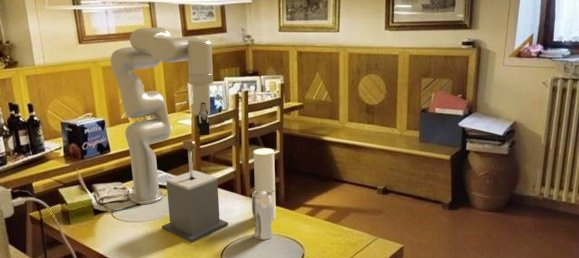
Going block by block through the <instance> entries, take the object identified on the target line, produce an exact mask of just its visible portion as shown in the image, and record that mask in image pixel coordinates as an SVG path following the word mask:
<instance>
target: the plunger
mask: <svg viewBox="0 0 579 258" xmlns="http://www.w3.org/2000/svg"><path fill="white" fill-rule="evenodd" d="M182 148H183V149H184V150H187V157H188V168H189V170H188V172H190V180H194V177H193V171H194V168H193V167H194V164H193V152H192V149H196V140H194V139H186V140H183V141H182Z"/></svg>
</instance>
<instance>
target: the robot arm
mask: <svg viewBox="0 0 579 258" xmlns="http://www.w3.org/2000/svg"><path fill="white" fill-rule="evenodd" d="M129 43H130V45H131V46H130V47H122V48H118V49H116V50H114V51H113V52H112V54H111V56H110V68H111V71H112V72H113V75H114V78H115V79H116V81H117V84H118V87H119V93H120V96H121V101H122V106H123V111H124V113H125V116H127V118H129V119H139V118H145V117H150V116H151V118H152V119H151V118H150V119H145V120H141V121H136V122H132V123H131V124H129V125H128V126H127V127H126V128H125V131H124V132H125V139H126V142H127V146H128V149H129V157H130V165H131V174H132V182H133V186H131V188H130V189H131V190H132V191H133V194H132V195H131V196H130V201H131V200H132V201H133V202H135V203H134V204H137V203H139V204H138V205H147V204H154V203H157V202H159V201H161V200H162V199H163V198H164V192H163V191H161V190H160V188H159V187H160V186H159V185H160V183H159V175H158V166H157V165H158V164H157V156H156V153H155V152H154V150H153V149H152V148H151V147H150V145H152V144H156V143H160V142H164V141H166V140H168V139H169V138H170V137H171V130H172V129H171V123H170V119H169V118H170V117H169V114H168V109H167V105H166V101H165V98H164V96H163V95H162V93H160V92H159V91H156V90H151V91H149V90H148V91H145V90H144V86H143V82H142V79H141V78H140V77H139V76H138V75H137V73H136V72H134V70H136V71H137V70H145V69H152V68H156V67H158V66H159V65H160V64H161V62H163V63H178V62H179V63H180V62H186V61H187V65H188V66H187V67H188V68H187V69H188V83H189V85H191V86H192V91H191V92H192V94H191V95H192V112H193V115H194V117H196V127H198V134H199V135H200V136H208V135H210V122H209V115H210V114H211V94H210V93H211V92H210V91H211V90H210V89H211V88H210V87H211V86H210V85H213V84H214V72H213V69H214V67H213V47H212V44H213V43H212V42H211V41H210V40H208V39H205V38H198V37H195V36H187V37H186V36H185V37H172V35H171V33H170V31H168V29H167V28H164V27H160V26H159V27H157V26H156V27H143V28H142V27H141V28H137V29H134V31H132V33H130V37H129ZM132 201H131V202H132ZM133 202H132V203H133Z"/></svg>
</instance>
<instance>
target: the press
mask: <svg viewBox="0 0 579 258" xmlns="http://www.w3.org/2000/svg"><path fill="white" fill-rule="evenodd" d="M193 177H194V180H190V172H189V171H188V172H185V173H183V174H182V173H181V174H180V175H179V174H178V175H176V176H173V177H171V178H168V179H166V180H165V181H166V191H167V205H168V214H169V223H165V224H163V225H162V226H161V230H163V231H165V232H168V233H170V234H171V235H174V236H176V237H178V238H180V239H182V240H185V241H186V242H189V243H190V244H193V243H196V242H197V241H199V240H201V239H203V238H205V237H207V236H210V235H211V234H213V233H216V232H218V231H220V230H222V229H223V228H226V227H229V222H228V221H225V220H222V219H221V218H220V205H219V188H218V187H219V186H218V177H216V176H215V175H210V174H207V173H204V172H201V171H197V170H194V169H193Z"/></svg>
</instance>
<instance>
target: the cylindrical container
mask: <svg viewBox="0 0 579 258" xmlns="http://www.w3.org/2000/svg"><path fill="white" fill-rule="evenodd" d="M253 168H254V169H253V172H254V175H253V176H254V192H255V191H259V190H267V191H270V192H272V198H273V214H272V221H274V220H275V219H276V218H277V216H276V215H277V211H276V208H277V207H276V206H277V205H276V175H275V174H276V173H275V172H276V171H275V150H274V149H273V148H265V147H264V148H258V149H255V150H253Z"/></svg>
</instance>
